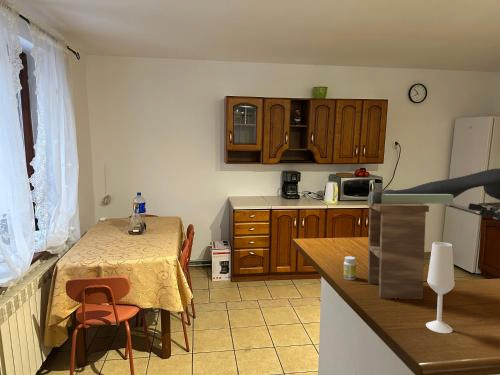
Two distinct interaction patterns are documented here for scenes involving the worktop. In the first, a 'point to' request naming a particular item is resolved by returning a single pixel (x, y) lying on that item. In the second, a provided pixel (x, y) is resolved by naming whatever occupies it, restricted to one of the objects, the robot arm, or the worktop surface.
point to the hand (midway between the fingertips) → (474, 208)
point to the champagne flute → (441, 280)
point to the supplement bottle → (349, 268)
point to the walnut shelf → (397, 249)
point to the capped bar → (409, 198)
